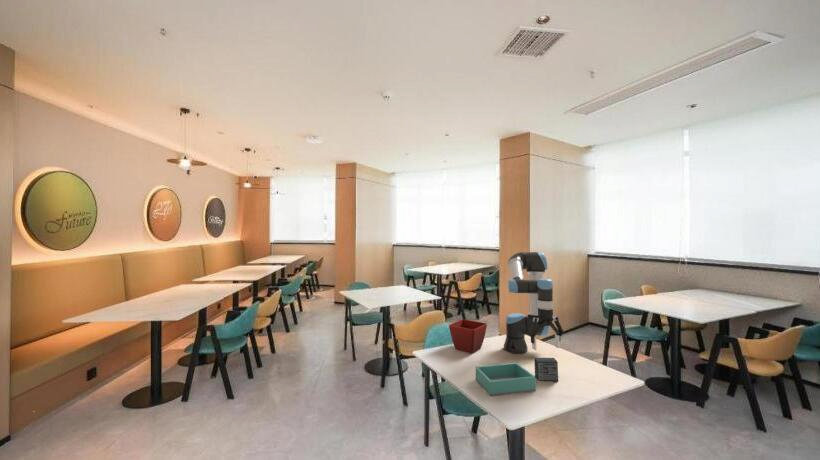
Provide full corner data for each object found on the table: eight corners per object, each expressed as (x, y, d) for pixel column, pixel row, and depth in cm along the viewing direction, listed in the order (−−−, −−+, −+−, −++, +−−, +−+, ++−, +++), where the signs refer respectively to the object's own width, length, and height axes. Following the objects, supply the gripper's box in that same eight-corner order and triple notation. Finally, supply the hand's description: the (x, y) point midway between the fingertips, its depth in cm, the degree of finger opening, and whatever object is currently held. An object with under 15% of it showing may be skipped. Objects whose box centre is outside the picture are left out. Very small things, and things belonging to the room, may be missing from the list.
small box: (554, 376, 179) (554, 357, 179) (558, 382, 172) (558, 361, 172) (534, 375, 180) (534, 356, 180) (537, 381, 173) (537, 361, 173)
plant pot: (463, 342, 235) (462, 318, 235) (487, 348, 223) (487, 323, 223) (448, 350, 220) (448, 324, 220) (474, 356, 208) (473, 330, 208)
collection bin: (517, 375, 180) (516, 362, 180) (535, 391, 163) (535, 376, 163) (475, 380, 176) (475, 366, 176) (490, 396, 158) (490, 381, 158)
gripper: (561, 305, 182) (562, 344, 182) (520, 307, 177) (520, 347, 177) (570, 308, 175) (571, 348, 175) (527, 311, 170) (528, 352, 170)
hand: (545, 348), depth 176 cm, fingers open, 13 cm apart
